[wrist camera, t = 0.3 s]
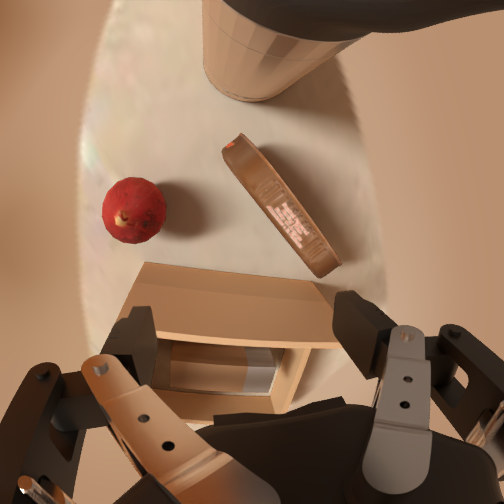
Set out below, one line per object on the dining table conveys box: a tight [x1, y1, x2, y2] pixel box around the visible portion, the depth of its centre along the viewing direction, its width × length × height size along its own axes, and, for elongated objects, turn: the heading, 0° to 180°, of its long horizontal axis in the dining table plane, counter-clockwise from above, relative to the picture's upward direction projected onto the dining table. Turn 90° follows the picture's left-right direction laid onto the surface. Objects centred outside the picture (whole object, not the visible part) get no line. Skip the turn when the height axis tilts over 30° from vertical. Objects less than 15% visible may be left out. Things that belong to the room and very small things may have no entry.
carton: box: [115, 262, 343, 425], centre depth 29 cm, size 20×19×12 cm
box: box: [170, 340, 276, 393], centre depth 32 cm, size 4×11×6 cm, turn 80°
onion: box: [102, 177, 166, 244], centre depth 24 cm, size 6×6×8 cm
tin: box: [222, 133, 342, 278], centre depth 26 cm, size 15×3×8 cm, turn 39°
